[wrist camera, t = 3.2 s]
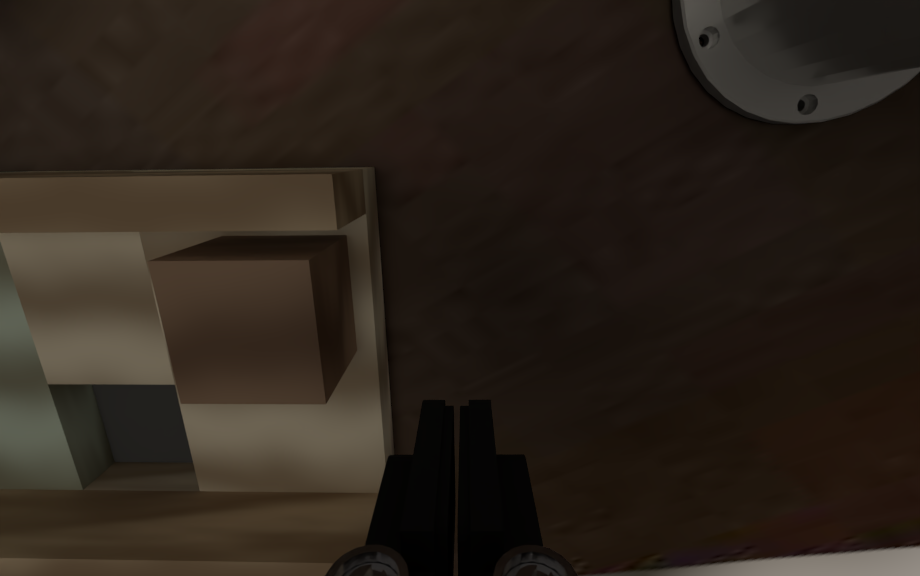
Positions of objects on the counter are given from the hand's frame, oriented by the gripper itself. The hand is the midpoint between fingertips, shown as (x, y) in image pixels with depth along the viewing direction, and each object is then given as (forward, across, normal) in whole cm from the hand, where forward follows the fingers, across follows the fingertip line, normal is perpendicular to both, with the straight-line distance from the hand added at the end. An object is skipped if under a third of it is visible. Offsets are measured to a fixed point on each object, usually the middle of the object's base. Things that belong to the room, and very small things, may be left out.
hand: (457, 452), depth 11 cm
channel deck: (+14, +18, +3) cm, 23 cm away
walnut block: (+11, +8, -1) cm, 14 cm away
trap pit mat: (+14, +19, +8) cm, 25 cm away
